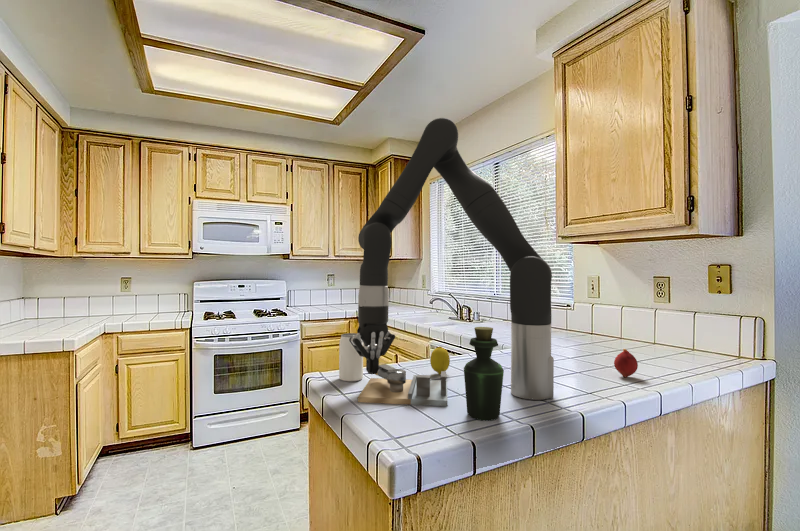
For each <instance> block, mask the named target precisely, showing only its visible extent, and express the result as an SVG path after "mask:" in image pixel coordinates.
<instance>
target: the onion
mask: <svg viewBox="0 0 800 531" xmlns="http://www.w3.org/2000/svg"><path fill="white" fill-rule="evenodd" d="M613 365H614V366H613V367H614V368H615V369H616V371H617V372H618V373H619V374H620V375H621V376H622V377H624V378H628V377H630V376H632V375H633V374H635V373H636V372H637V370H638V367H639V365H638V360H637V358H636V357H635V356H634V355H633V354H632V353H631V352H630V351H629V350H628V349H626V348H623V349H622V352H619V353H618V354H617V355H616V357H615V359H614V362H613Z"/></svg>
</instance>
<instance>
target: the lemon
mask: <svg viewBox="0 0 800 531" xmlns="http://www.w3.org/2000/svg"><path fill="white" fill-rule="evenodd" d="M429 359H430V361H429V363H430V365H431V366H430V367H431V368H432V370H433V371H435V372H436V374H438V375H441V371H446V372H447V370H448V369H449V367H450V363H451V358H450V354H449V352H448V350H446V349H445V348H443V347H442V346H441V345H440V346H438V347H436V348H434V349H433V351H432V352H431V354H430V358H429Z"/></svg>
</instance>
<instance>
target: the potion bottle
mask: <svg viewBox="0 0 800 531" xmlns="http://www.w3.org/2000/svg"><path fill="white" fill-rule="evenodd" d="M493 330H494V327H490V326H476V327H474V333H475V337H471V338H470V341H469V345H470V346H472V347H473V348H474V352H475V355H476V357H475V358H473V359H471V360H470V361H467V362H466V363H465V365H464V367H463V374H464V375H463V376H464V386H465V388H464V389H465V400H466V412H467V415H468V417H470V418H472V419H474V420H477V421H483V420H485V421H486V420H488V421H489V420H490V421H495V420H496V419H498V418H499V417H500V415H501V405H502V404H501V403H502V394H503V382H504V375H505V374H504V371H505V370H504V368H503V366H502V365H501V364H500V363H499V362H497V361H496V360H494V359H493V358H492V354H493V350H494V348H496V347H498V346H499V343H498V340H497V339H496V338H493V337H492V336H493V332H494V331H493ZM494 419H495V420H494ZM488 421H487V422H488Z"/></svg>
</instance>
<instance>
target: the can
mask: <svg viewBox="0 0 800 531" xmlns="http://www.w3.org/2000/svg"><path fill="white" fill-rule="evenodd" d="M356 334H357V332H349V333H343V334H341V335H340V339H339V346H338V347H339V349H338V350H339V352H338V355H339V357H338V359H339V360H338V366H339V368H338V375H339V376H338V377H339V379H340V380H341V381H343V382H349V383H350V382H359V381H362V379H363V378H364V357H362V356H360V355H359V354H358V353H357V351H356V350H355V348H354V347H353V345H352V344H351V343H350V341H349V339H350V338H351V337H354V336H355V335H356ZM361 341H362V340H361ZM361 344H362V345H363V341H362V342H361Z"/></svg>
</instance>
